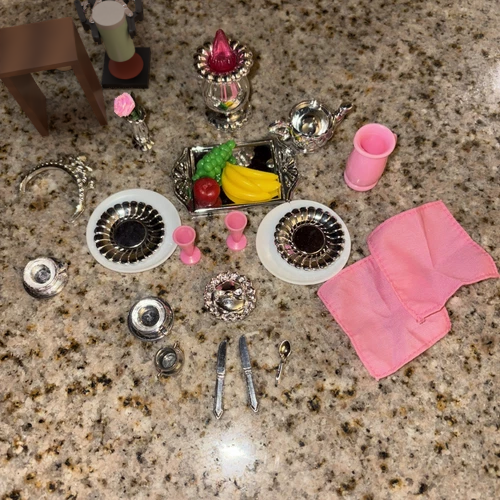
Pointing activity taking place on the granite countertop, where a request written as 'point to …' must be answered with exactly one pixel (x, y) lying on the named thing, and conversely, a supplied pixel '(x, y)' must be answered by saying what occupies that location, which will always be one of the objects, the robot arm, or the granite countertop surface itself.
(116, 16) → the jar
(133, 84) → the hob
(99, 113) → the brown wooden stool
